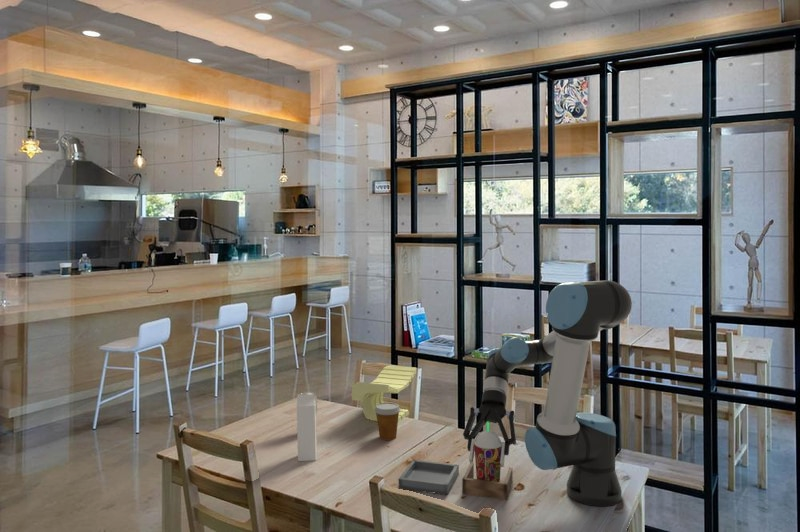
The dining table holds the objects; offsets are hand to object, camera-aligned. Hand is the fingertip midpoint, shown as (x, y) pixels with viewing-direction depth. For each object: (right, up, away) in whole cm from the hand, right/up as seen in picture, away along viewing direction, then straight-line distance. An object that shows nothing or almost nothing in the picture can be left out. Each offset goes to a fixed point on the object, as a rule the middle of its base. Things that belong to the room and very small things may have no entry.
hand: (486, 463), depth 168 cm
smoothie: (+1, -9, +4) cm, 9 cm away
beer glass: (-61, -7, +53) cm, 80 cm away
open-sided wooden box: (+1, -9, +4) cm, 9 cm away
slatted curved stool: (-31, -5, +71) cm, 78 cm away
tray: (-16, -8, +8) cm, 20 cm away
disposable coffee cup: (-30, -7, +47) cm, 56 cm away
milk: (-57, -8, +28) cm, 64 cm away
